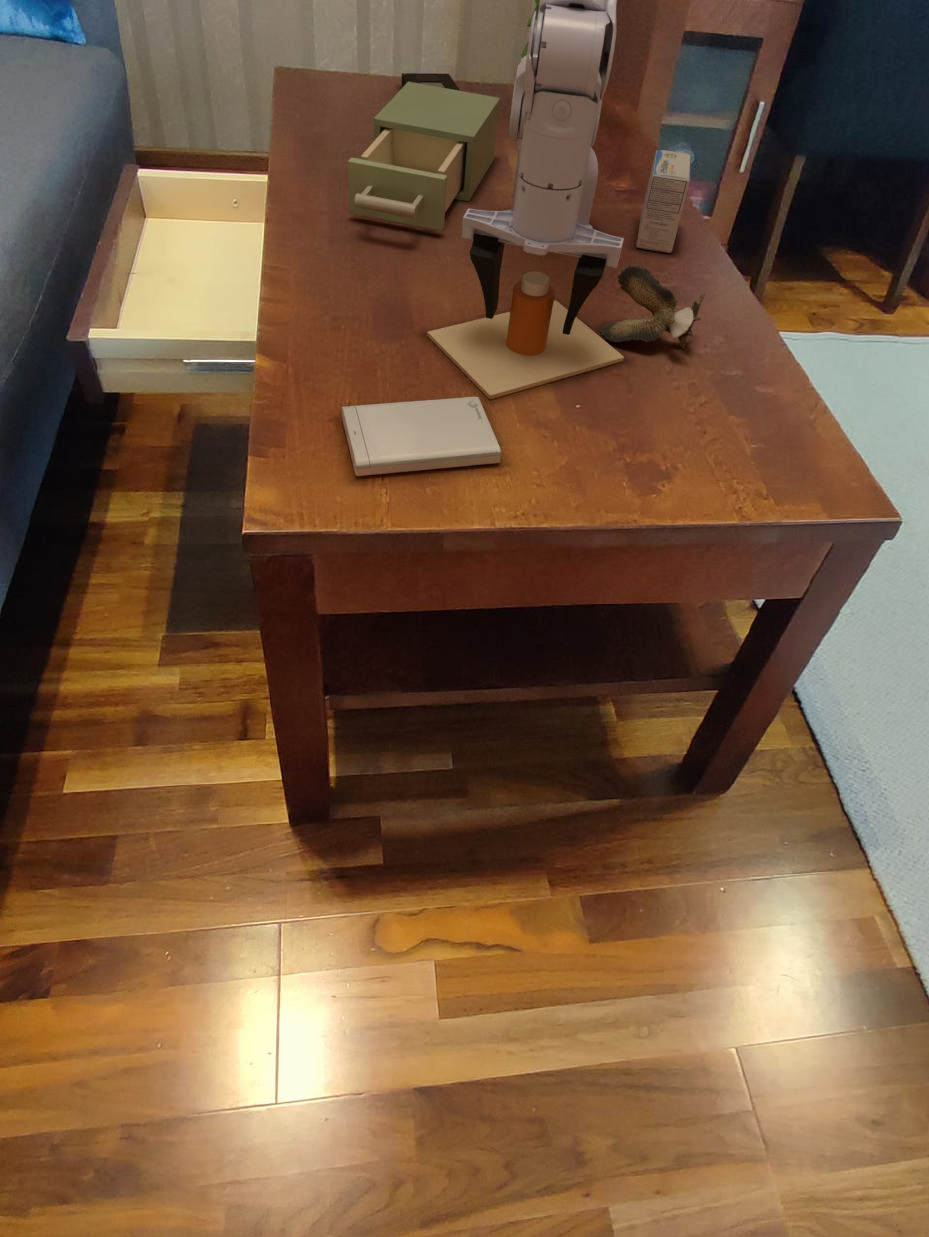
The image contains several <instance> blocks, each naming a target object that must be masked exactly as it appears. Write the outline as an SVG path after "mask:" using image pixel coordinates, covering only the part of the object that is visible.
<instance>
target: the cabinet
mask: <svg viewBox="0 0 929 1237" xmlns="http://www.w3.org/2000/svg"><path fill="white" fill-rule="evenodd" d="M500 103H501V97H497V96H492V95H486V94H481V93H475V92H474V93H473V92H469V91H463V90H460V91H458V90H452V89H447V88H441V87H436V86H430V85H424V84H419V83H413V82H407V83H406V84H405V86H404V87H403V88H402V87H401V89H400V90H399V91H398V92H397V93H396V94H395V95H394V96H393V97H392V99H390V100H389V101H388V102H387V104H386V105H385V106H384V107H383V108H382V109H381V110H380V111H379V112H378V113H377V114H376V115H375V116H374V117H373V142H374V141H375V140H376V139H377V137H378V136H379V135H380V134H381V133H382V132H383V131H384V130H385V128H386V127H387V128H392V129H397V130H403V131H408V132H414V133H419V134H425V135H430V136H435V137H441V138H446V139H452V140H457V141H463V142H467V150H466V163H465V176H464V184H463V185H462V187H461V188H460V190H459V192H458V193H457V195H456V196H455V198H454V199H453V200H458V201H463V202H464V201H465V202H470V200H471V199H472V197H473V195H474V194H475V192H476V190H477V188H478V187H479V185H480V183H481V182H482V180H483V179H484V177H485V175H486V173H487V172H488V170H489V168H490V167H491V165H492V164H493V162H494V161H495V154H496V153H495V152H496V143H497V134H498V133H497V132H498V124H499V115H500V114H499V113H500Z"/></svg>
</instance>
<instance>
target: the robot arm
mask: <svg viewBox="0 0 929 1237" xmlns="http://www.w3.org/2000/svg"><path fill="white" fill-rule="evenodd" d="M617 2H618V0H540V3H539V10H538V18H537V20H536V11H534V10H533V12H534V14H533V13H532V14H533V17H532V21H531V27H529V28H530V29H529V37H528V41H529V43H528V42H527V43H528V51H527V55H526V56H525V57H523V58H522V57H521V59H520V63H519V64H518V65H517V69H516V74H515V76H516V77H515V80H514V85H513V92H512V100H511V107H510V108H511V109H510V116H509V125H508V126H509V128H508V135H509V137H510V138H511V140H512V141H513V142H517V148H516V149H517V158H516V164H515V165H516V166H515V175H514V183H513V191H512V199H511V208H510V209H506V210H482V209H474V208H467V210H466V211H465V213H464V215H462V216H463V217H462V224H461V239H465V240H472V243H471V247H470V249H469V258H470V261H471V263H472V265H473V267H474V269H475V272H476V274H477V278H478V280H479V283H480V287H481V291H482V296H483V301H484V308H485V309H484V310H485V318H489V319H493V317H494V315H496V312H497V310H498V305H499V299H500V297H499V296H500V284H501V283H500V282H501V281H500V280H501V270H502V264H503V258H504V251H505V245H506V244H508V245H513V246H518V247H523V251H524V252H525V253H527V254H530V255H531V254H532V255H537V256H546V255H547V254H548V253H555V254H559V255H564V256H569V257H573V258H574V257H575V258H579V259H578V262H577V264H576V266H575V270H574V273H573V279H572V287H571V292H570V299H569V305H568V308H567V310H568V312H567V316H566V319H565V323H564V327H563V333H562V334H567V335H569V334H570V332H571V329H572V325H573V322H574V320H575V318H576V317H577V315H578V314H579V312H580V310H581V308H582V307H583V305H584V303H585V302H586V300H587V299H588V298H589V296H590V295H591V293H592V291H594V289H595V288H597V286H598V285H599V283H600V282H601V280H602V278H603V275H604V272H605V270H606V269H605V268H606V267H608V268H613V269H617V268H618V267H619V266H618V265H619V261H620V258H621V254H622V250H623V246H624V245H623V244H624V240H625V238H624V237H620V236H615V235H612V234H608V233H605V232H603V231H600V230H597V229H594V228H593V225H591V224H590V221H591V215H592V211H593V210H592V209H593V204H594V200H595V195H596V188H597V185H598V184H597V183H598V179H599V178H598V177H599V164H598V158H597V155H596V152H595V150H594V149H593V148H592V147H594V145H595V143H596V138H597V135H598V129H599V126H600V125H599V124H600V118H601V111H602V105H603V97H604V95H605V92H606V90H607V86H608V85H609V80H610V75H611V71H612V65H613V61H614V56H615V54H614V53H615V48H616V41H617V33H618V32H617V31H618V30H617V27H618V26H617V4H618V3H617Z"/></svg>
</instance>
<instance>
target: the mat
mask: <svg viewBox="0 0 929 1237" xmlns="http://www.w3.org/2000/svg"><path fill="white" fill-rule="evenodd" d="M567 312H568V308H566V307H565V306H563V304H561V303H560V302H559V301H558V300H554V302H553V308H552V314H551V320H550V326H549V332H548V337H547V343H546V348H545V350H544V351H543V352H542V353H540V354H537V355H531V356H529V355H521V354H518V353H515V352H513V351H512V350H510V349H509V348H508V346H507V344H506V341H507V333H508V326H509V318H510V311H506V312H503V313H499V314H495V315H494V317H493V319H489V318H486V317H482V318H478V319H473V320H470V321H465V322H462V323H458V324H457V323H456V324H453V325H449V326H445V327H441V328H437V329H433V330H427V335H426V337H428V338H429V339H430V341H432V342H433V343H434V344H435V345H436V347H438V349H439V350H440V351H441V352H442V353H443V354H444V355H445V356H446V357H447V358H448V359H449V360H450V361H451V362H452V363H453V364H454V365H455V366H456V367H457V368H458V369H459V370H460V371H461V372H462V373H463V374H464V376H466V377H467V378H468V380H470V381H471V382H472V383H473V384H474V385H475V387H476V388H478V389H479V391H481V392H482V394H484V395H485V397H486V398H488V400H493V399H497V398H501V397H505V396H507V395H510V394H513V393H517V392H521V391H524V390H527V389H531V388H535V387H539V386H542V385H546V384H549V383H552V382H555V381H559V380H563V379H566V378H569V377H573V376H576V375H581V374H583V373H584V374H585V373H586V372H591V371H594V370H598V369H601V368H604V367H607V366H611V365H614V364H618V363H621V362H624V360H625V356H624V355H623V354H622V353H620V352H619V351H618V350H617V349H615V348H614V347H613V346H612V345H611V344H609V343H608V342H607V341H606V340H605V339H603V337H601V336H600V335H598V334H597V333H596V332H595V331H593V330H592V329H591V328H590V327H589V326H588V325H587V324H585V323H584V322H583V321H582V320H580V319H579V318H578V317H577V316H576V318H575V320H574V322H573V325H572V329H571V332H570V334H569V335H567V334H562V333H563V327H564V323H565V319H566V316H567Z"/></svg>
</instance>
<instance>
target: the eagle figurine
mask: <svg viewBox="0 0 929 1237" xmlns="http://www.w3.org/2000/svg"><path fill="white" fill-rule="evenodd" d="M616 278H617V279H618V284H619V285H620V289H621V290H622V291H623V292H624V293H626V294H627V295H628V296H629V297H630V298H631V299H632V300H633V301H634V302H635V303H636V304H637V305H639V306H641V307H643V308H645V309H646V310H647V311H649V312H650V313H651V314H652V315H651V316H650V317H649V316H648V317H641V318H638V317H637V318H628V319H624V320H623V319H622V320H621V321H611V322H610V323H606V324H605V326H602V327H600V329H599V332H600V334H601V336H603V337H604V340H605V339H606V340H607V341H608V342H612V343H623V342H631V341H640V340H641V342H645V343H648V342H652V341H657V340H658V339H659V338H660V336H661V335H663V334H664V332H666V333H669V334H671V337H672V338H673V339H678V341H679V346H680V348H681V349H682V350H684V349H685V348H686V344H687V340H688V336H690V337H693V336H694V333H693V330H692V328H693V326H694V323H695V322H696V321H701V320H702V318H701V317H700V316H698V315H699V312H700V309H701V307H702V303H703V300H704V298H705V296H706V293H705V292H702V293H701V294H700V296H699V297H698V298H697V300H694V301H693V303H692V306H691V307H690V306H687V307H684V308H682V309H679V310H677V311H675V309H676V306H677V299H676V297H675V295H674V292H672V290H671V288H667V287H666V286H663V285H662V284H661V283H660V280H658V279H656V277H655V275H653V274H652V272H651V270H650V269H648V268H647V267H643V266H641V267H640V266H636V265H628V267H625V268H624V269H622V270H621V271H620V273H619V274H618V275H617V277H616Z"/></svg>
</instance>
